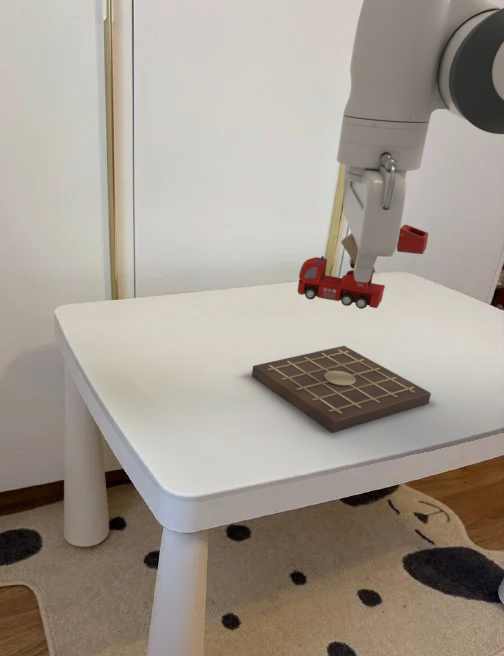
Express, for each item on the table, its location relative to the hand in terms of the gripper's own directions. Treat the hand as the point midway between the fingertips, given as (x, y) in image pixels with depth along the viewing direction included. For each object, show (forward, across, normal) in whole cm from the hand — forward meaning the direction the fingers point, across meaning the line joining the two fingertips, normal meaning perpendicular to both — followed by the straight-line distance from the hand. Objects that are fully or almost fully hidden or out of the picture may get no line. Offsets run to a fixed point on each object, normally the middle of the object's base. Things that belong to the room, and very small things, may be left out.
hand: (358, 273), depth 74 cm
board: (+15, 0, 0) cm, 15 cm away
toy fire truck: (+4, 0, 0) cm, 4 cm away
